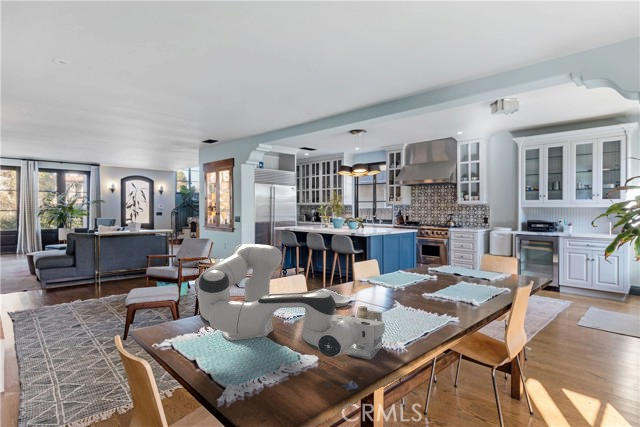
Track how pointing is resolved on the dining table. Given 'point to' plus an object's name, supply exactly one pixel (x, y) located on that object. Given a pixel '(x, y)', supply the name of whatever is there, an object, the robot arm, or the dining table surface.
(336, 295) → the spoon rest
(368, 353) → the cup bracket
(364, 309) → the beige banded cylinder
